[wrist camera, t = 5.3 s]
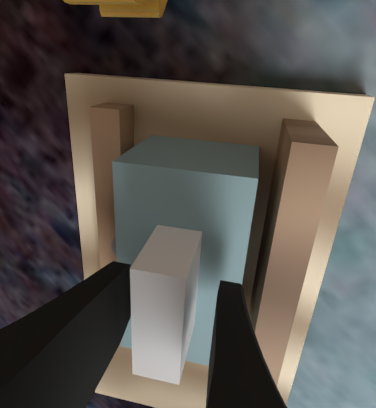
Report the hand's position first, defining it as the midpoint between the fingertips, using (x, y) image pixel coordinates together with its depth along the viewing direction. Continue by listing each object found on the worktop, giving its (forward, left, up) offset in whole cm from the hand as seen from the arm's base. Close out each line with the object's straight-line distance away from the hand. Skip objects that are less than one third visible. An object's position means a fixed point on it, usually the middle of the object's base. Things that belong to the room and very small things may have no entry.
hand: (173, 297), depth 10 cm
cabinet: (0, 0, -5) cm, 5 cm away
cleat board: (-4, 0, -6) cm, 7 cm away
